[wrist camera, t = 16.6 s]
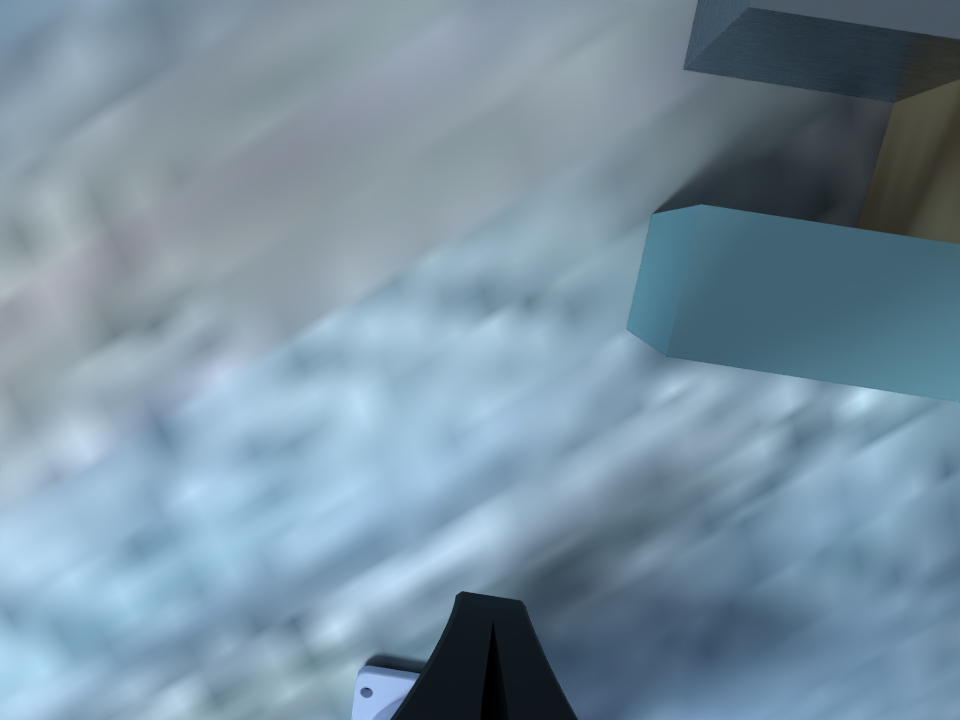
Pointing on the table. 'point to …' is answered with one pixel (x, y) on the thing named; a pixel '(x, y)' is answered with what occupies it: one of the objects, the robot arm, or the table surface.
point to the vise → (830, 44)
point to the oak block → (918, 169)
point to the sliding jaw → (801, 300)
